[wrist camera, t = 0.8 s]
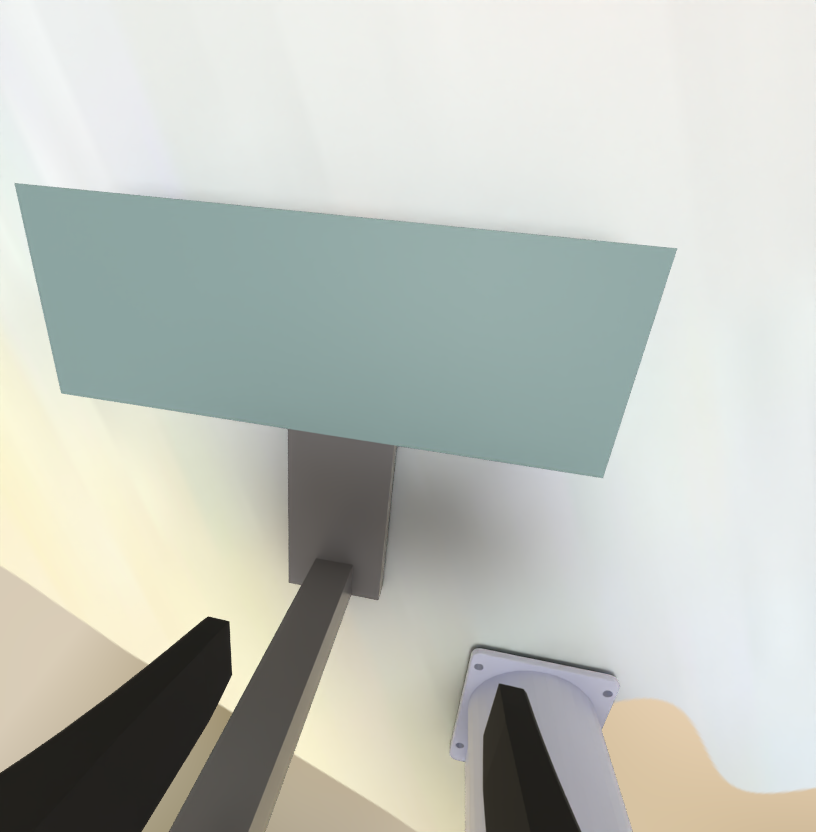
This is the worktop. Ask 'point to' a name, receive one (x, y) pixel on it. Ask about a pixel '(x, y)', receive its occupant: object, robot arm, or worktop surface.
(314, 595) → the scraper
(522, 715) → the robot arm
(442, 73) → the worktop surface
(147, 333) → the grey-green bridge-shaped bar
